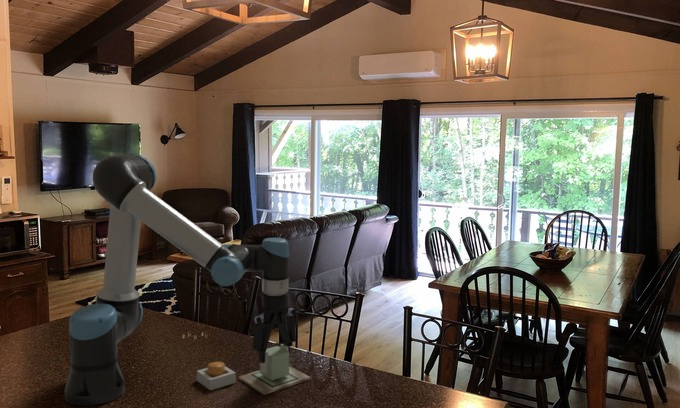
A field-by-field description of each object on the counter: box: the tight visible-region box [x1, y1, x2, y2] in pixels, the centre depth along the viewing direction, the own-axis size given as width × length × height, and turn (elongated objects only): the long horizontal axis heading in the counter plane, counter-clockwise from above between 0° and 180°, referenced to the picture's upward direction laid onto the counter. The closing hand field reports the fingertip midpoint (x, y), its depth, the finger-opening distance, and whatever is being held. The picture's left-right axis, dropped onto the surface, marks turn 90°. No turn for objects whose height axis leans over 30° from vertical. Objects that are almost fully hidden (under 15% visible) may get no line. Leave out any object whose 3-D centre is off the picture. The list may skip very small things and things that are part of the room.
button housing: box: [196, 365, 237, 391], centre depth 165 cm, size 8×8×3 cm
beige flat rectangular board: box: [238, 365, 311, 396], centre depth 167 cm, size 16×13×1 cm
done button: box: [207, 361, 226, 377], centre depth 164 cm, size 5×5×3 cm
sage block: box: [259, 345, 290, 380], centre depth 167 cm, size 6×6×7 cm
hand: (274, 369), depth 167 cm, fingers open, 6 cm apart
